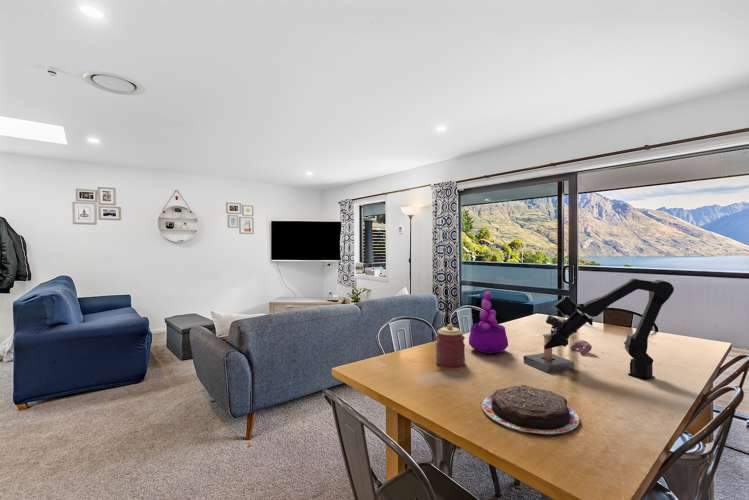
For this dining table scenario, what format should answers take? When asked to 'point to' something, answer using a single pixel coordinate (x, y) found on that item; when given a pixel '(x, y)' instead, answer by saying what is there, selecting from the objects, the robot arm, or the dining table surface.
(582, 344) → the mauve curved piece
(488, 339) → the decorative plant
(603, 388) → the dining table surface
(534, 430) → the chocolate cake
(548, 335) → the pin
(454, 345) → the canister
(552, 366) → the dark grey square base
